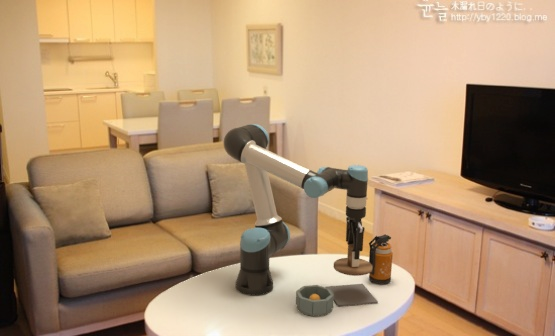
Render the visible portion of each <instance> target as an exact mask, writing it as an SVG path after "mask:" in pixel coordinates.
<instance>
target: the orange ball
mask: <svg viewBox="0 0 555 336" xmlns="http://www.w3.org/2000/svg"><path fill="white" fill-rule="evenodd" d="M309 299H311V300H321V299H320V297H319V295H317V294H312V295H311V296H310V297H309Z"/></svg>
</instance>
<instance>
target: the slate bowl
mask: <svg viewBox="0 0 555 336" xmlns="http://www.w3.org/2000/svg"><path fill="white" fill-rule="evenodd" d="M312 294H317V295H319V297H320V299H321V300H311V299H309V297H310V296H311V295H312ZM334 304H335V302H334V294H333V293H332V291H331V290H330V289H329V288H326V286H322V285H319V284H313V285H310V284H309V285H303V286H301V287H300V288H298V289H297V290H296V292H295V305H296V309H297V311H298V310H299V311H298V312H299V313H301V314H302V313H303V314H302V315H305V316H308V315H310V317H323V316H327V315H329V314H330V313H331V312H332V311H333V309H334Z"/></svg>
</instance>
